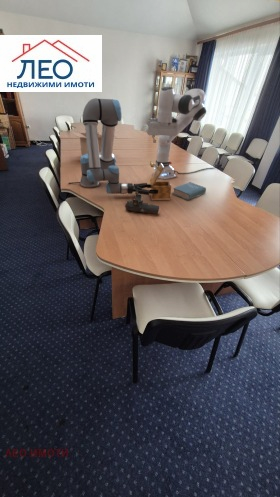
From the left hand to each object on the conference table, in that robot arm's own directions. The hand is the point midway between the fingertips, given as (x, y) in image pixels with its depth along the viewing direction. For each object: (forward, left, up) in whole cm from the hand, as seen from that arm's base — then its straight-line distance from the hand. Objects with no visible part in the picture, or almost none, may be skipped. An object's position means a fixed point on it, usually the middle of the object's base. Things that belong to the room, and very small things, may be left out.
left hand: (156, 188), depth 165 cm
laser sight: (-3, -27, -7) cm, 29 cm away
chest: (+3, +1, -7) cm, 7 cm away
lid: (0, 0, +11) cm, 11 cm away
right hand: (0, 0, +32) cm, 32 cm away
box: (-86, +63, -7) cm, 107 cm away
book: (+23, +19, -7) cm, 31 cm away
